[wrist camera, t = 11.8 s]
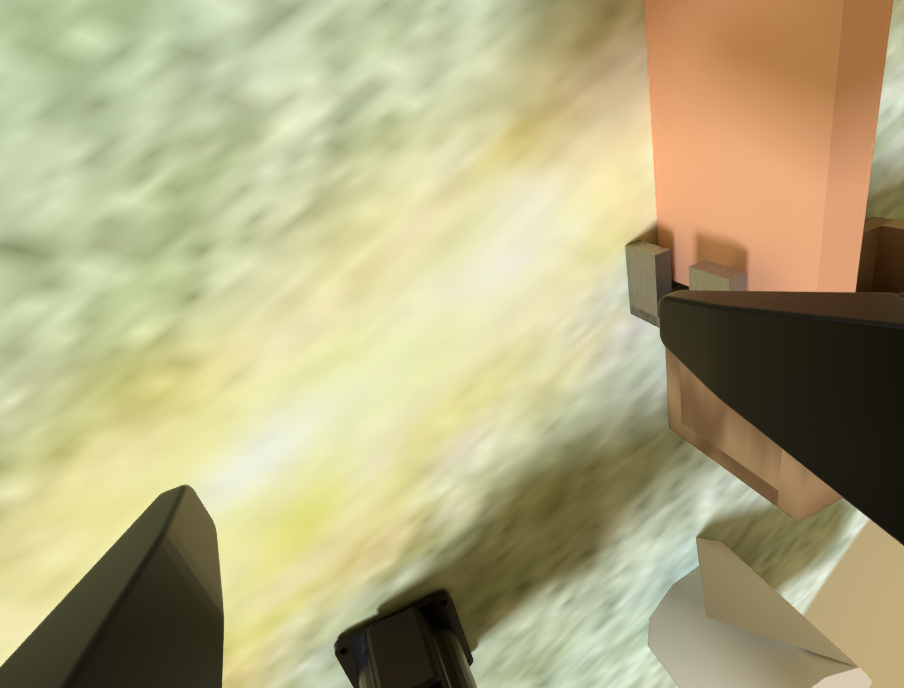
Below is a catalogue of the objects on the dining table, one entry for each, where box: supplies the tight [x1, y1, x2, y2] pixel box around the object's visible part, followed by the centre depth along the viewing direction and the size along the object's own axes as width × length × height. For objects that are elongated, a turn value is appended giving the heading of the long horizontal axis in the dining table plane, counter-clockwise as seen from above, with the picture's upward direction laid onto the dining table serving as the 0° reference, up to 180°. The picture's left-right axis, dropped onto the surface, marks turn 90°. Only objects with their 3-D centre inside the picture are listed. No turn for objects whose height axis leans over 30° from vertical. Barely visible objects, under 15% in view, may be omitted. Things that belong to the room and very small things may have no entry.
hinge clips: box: [626, 241, 747, 328], centre depth 22 cm, size 4×5×6 cm
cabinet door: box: [644, 0, 893, 292], centre depth 19 cm, size 12×2×8 cm, turn 15°
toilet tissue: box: [648, 538, 872, 688], centre depth 33 cm, size 9×13×9 cm
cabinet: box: [666, 217, 904, 522], centre depth 25 cm, size 8×14×8 cm, turn 104°
